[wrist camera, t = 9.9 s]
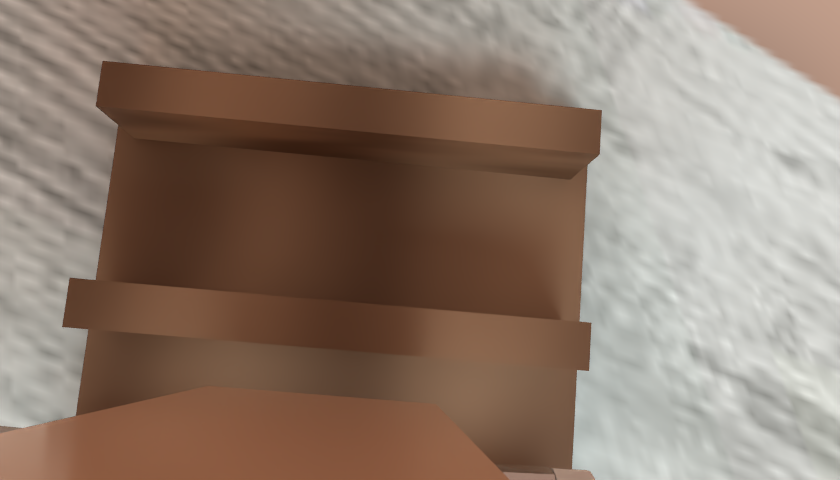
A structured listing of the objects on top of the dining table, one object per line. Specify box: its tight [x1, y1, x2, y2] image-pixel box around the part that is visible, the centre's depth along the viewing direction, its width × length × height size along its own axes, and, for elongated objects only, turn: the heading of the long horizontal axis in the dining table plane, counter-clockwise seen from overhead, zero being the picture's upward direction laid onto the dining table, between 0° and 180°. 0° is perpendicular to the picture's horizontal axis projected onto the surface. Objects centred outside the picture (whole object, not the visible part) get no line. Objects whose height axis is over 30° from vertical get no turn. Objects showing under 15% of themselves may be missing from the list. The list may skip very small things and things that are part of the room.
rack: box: [62, 61, 602, 469], centre depth 21 cm, size 14×14×4 cm
